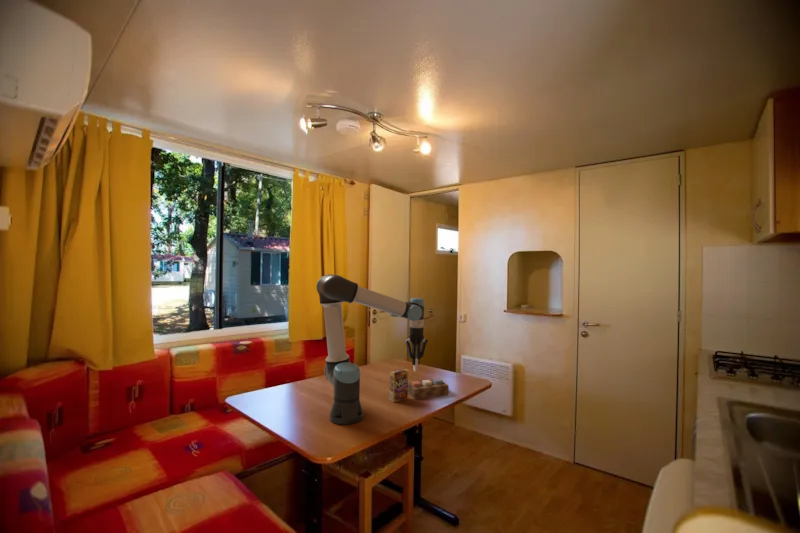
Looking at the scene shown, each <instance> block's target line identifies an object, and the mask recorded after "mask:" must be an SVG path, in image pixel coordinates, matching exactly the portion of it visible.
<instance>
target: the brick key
mask: <svg viewBox="0 0 800 533" xmlns="http://www.w3.org/2000/svg"><path fill="white" fill-rule="evenodd" d="M419 381H420V380H416V381H414V380H413V381H410V382H411V386H413V387H420V386H421V383H420V382H419Z"/></svg>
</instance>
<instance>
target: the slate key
mask: <svg viewBox="0 0 800 533" xmlns="http://www.w3.org/2000/svg"><path fill="white" fill-rule="evenodd" d="M443 382H444V380H442V379H441V378H433V383H434V384H443Z"/></svg>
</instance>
